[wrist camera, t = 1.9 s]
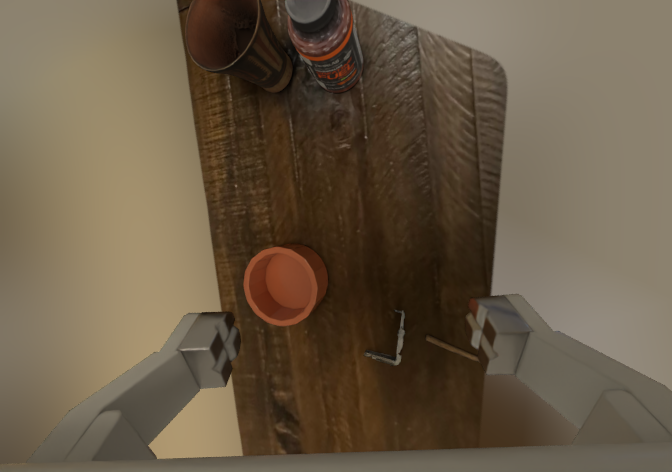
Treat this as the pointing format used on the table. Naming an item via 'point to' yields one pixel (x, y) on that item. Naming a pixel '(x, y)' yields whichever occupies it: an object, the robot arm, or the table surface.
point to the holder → (285, 283)
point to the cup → (237, 42)
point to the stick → (451, 348)
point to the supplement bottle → (326, 41)
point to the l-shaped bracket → (397, 359)
